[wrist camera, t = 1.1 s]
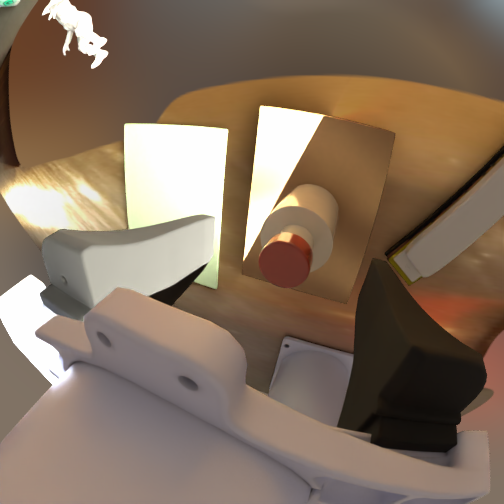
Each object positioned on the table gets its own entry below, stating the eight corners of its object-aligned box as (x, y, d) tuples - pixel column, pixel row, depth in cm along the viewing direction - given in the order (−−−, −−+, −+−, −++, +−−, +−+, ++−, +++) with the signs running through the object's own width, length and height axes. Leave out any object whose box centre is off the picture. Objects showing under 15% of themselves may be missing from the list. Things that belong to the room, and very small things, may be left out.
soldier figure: (96, 83, 22) (34, 44, 17) (128, 53, 22) (64, 16, 18) (87, 43, 14) (17, 7, 10) (130, 9, 15) (55, -23, 11)
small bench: (348, 285, 21) (346, 304, 19) (253, 259, 23) (241, 274, 21) (390, 131, 15) (395, 133, 13) (271, 106, 17) (259, 105, 15)
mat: (217, 287, 26) (215, 289, 26) (134, 258, 29) (132, 259, 28) (228, 129, 19) (226, 129, 19) (127, 123, 21) (124, 123, 21)
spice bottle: (332, 245, 18) (315, 311, 12) (278, 231, 19) (239, 288, 13) (344, 191, 16) (336, 238, 10) (286, 178, 17) (246, 215, 11)
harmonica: (517, 126, 11) (531, 129, 9) (536, 161, 11) (549, 167, 9) (384, 250, 19) (386, 263, 17) (407, 277, 19) (410, 292, 18)
